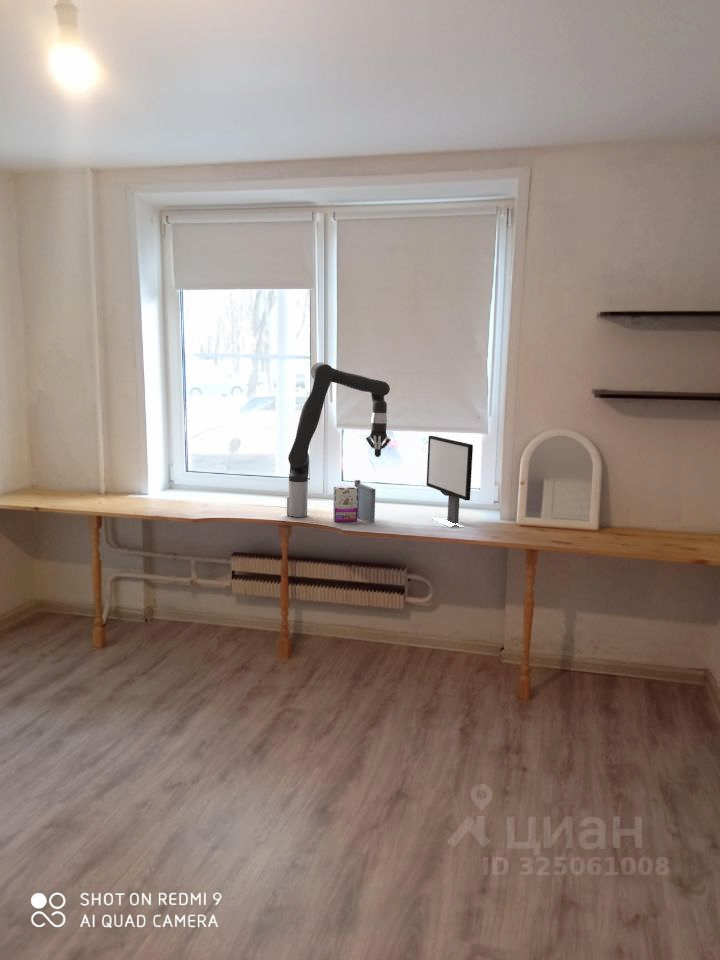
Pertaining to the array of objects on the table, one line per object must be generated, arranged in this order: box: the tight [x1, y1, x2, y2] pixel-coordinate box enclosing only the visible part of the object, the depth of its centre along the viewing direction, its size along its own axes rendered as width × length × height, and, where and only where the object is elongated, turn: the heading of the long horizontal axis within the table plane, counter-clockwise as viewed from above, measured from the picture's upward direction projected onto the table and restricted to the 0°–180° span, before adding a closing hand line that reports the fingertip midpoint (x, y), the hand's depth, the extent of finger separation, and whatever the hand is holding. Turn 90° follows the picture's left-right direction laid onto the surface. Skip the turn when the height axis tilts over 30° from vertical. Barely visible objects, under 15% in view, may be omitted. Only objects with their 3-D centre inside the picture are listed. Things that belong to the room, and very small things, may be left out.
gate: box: [357, 483, 376, 524], centre depth 331 cm, size 17×2×16 cm, turn 24°
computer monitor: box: [426, 435, 474, 529], centre depth 331 cm, size 41×8×40 cm, turn 21°
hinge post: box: [353, 479, 361, 487], centre depth 341 cm, size 3×3×18 cm
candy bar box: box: [332, 486, 358, 523], centre depth 331 cm, size 11×5×16 cm, turn 101°
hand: (377, 456), depth 347 cm, fingers closed
